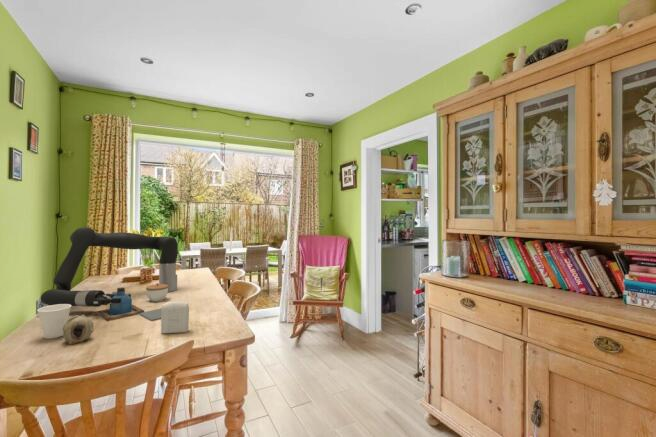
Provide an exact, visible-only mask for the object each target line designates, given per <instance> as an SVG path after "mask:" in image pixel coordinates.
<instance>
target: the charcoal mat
mask: <svg viewBox="0 0 656 437" xmlns="http://www.w3.org/2000/svg"><path fill="white" fill-rule="evenodd" d="M161 309H162V307H161V308H156V309H152V310H147V311H144V312H142V313H139V314H138V315H139V316H141V317H143V318H145V319H147V320H148V321H151V322H154V321H158V320H161Z"/></svg>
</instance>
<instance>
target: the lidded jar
mask: <svg viewBox="0 0 656 437" xmlns="http://www.w3.org/2000/svg"><path fill="white" fill-rule="evenodd" d="M145 293H146V297H147V299H148V300H150V302H153V303H155V302H158V303H159V302H162V301H164V300H163V299H165V298H166V297H167V295H168V293H169V292H168V285H167V284H159V282H157V283H156V284H150V285H147V286H146V288H145Z"/></svg>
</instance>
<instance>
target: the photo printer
mask: <svg viewBox="0 0 656 437" xmlns="http://www.w3.org/2000/svg"><path fill="white" fill-rule="evenodd" d="M161 308H162V309H161ZM161 308H160V309H161V319H160V333H161V334H173V333H174V334H176V333H177V334H178V333H187V332H188V331H189V328H190V327H189V322H190V321H189V320H190V305H189V303H188V302H186V301H182V300H180V301H179V300H173V301H168V302H167V301H166V302H164V303H163V304H162V305H161Z"/></svg>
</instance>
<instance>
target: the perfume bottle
mask: <svg viewBox="0 0 656 437" xmlns="http://www.w3.org/2000/svg"><path fill="white" fill-rule="evenodd" d="M125 289H126V287H124V286H123V287H118V288H116V292H117V295H116V296H113V298H121V303H112V304H109V309H110V312H109V315H110V316H115V315H119V314H124V313H129V312H133V310H132V305H133V302H132V301H133V299H132V296H131V297H130V296H129V295H128V294H129V293H126V290H125Z"/></svg>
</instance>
